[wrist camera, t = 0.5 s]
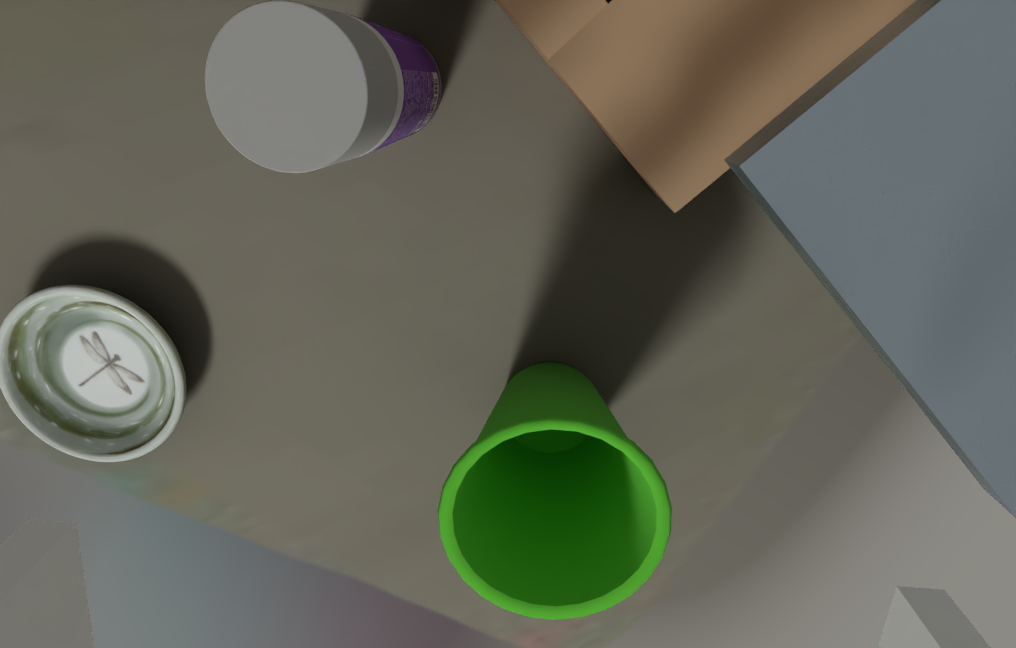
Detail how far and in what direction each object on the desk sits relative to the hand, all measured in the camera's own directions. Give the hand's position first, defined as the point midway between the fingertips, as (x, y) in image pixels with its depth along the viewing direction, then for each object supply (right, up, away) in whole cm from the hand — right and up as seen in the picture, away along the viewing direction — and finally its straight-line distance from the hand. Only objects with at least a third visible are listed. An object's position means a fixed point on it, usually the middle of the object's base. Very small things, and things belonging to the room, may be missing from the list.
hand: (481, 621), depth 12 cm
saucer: (-21, +3, +27) cm, 34 cm away
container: (-5, +16, +22) cm, 28 cm away
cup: (+3, +1, +27) cm, 27 cm away
